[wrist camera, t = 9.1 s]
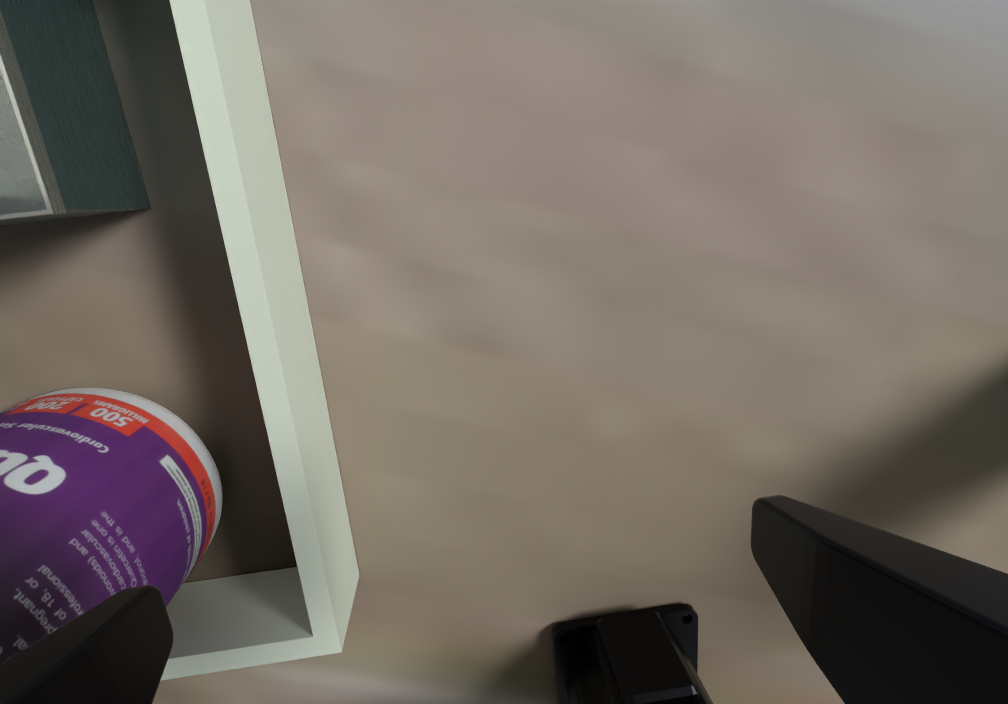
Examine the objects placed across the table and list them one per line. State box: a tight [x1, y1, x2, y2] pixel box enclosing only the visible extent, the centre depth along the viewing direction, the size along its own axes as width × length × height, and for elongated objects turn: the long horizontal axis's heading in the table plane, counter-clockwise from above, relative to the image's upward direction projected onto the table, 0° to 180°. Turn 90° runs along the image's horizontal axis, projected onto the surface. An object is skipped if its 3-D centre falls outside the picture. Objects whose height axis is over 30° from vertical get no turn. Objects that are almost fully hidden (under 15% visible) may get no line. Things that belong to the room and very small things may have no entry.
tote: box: [160, 0, 359, 681], centre depth 17 cm, size 23×16×4 cm
